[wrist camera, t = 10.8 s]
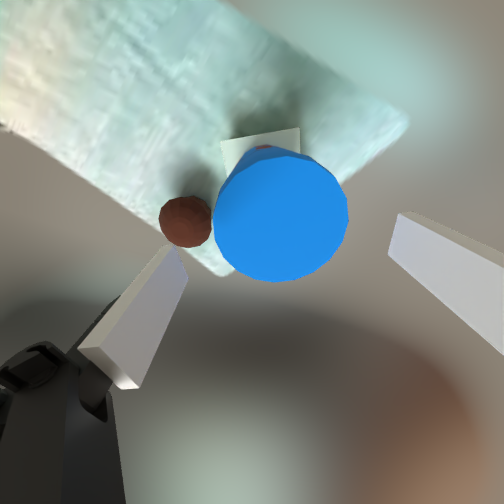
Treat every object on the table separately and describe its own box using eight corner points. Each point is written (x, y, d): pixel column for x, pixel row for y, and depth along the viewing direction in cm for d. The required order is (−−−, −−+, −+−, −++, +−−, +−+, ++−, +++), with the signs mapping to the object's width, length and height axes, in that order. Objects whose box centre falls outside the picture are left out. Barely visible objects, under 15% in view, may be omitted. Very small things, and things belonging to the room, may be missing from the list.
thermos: (226, 186, 37) (188, 250, 16) (254, 130, 32) (256, 114, 11) (271, 213, 40) (293, 299, 18) (303, 166, 35) (382, 208, 14)
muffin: (177, 180, 42) (158, 191, 34) (223, 202, 45) (216, 217, 36) (165, 224, 48) (146, 243, 39) (207, 241, 50) (197, 262, 42)
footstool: (224, 141, 38) (219, 141, 33) (293, 128, 37) (299, 126, 32) (237, 207, 45) (235, 216, 40) (295, 198, 44) (301, 206, 39)
